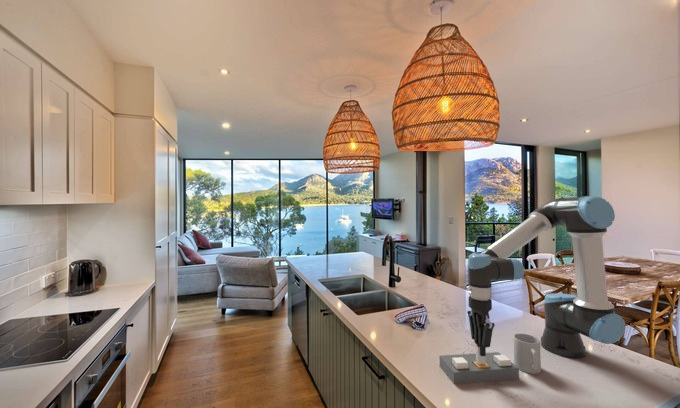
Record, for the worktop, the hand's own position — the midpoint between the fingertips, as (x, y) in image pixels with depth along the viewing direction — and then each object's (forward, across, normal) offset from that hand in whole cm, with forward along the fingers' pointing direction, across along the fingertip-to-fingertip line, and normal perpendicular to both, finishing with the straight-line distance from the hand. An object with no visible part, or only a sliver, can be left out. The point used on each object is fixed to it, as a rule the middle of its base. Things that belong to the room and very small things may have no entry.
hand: (480, 363), depth 100 cm
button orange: (+4, 0, 0) cm, 4 cm away
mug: (+5, -2, +20) cm, 21 cm away
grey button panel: (+5, -3, 0) cm, 5 cm away
